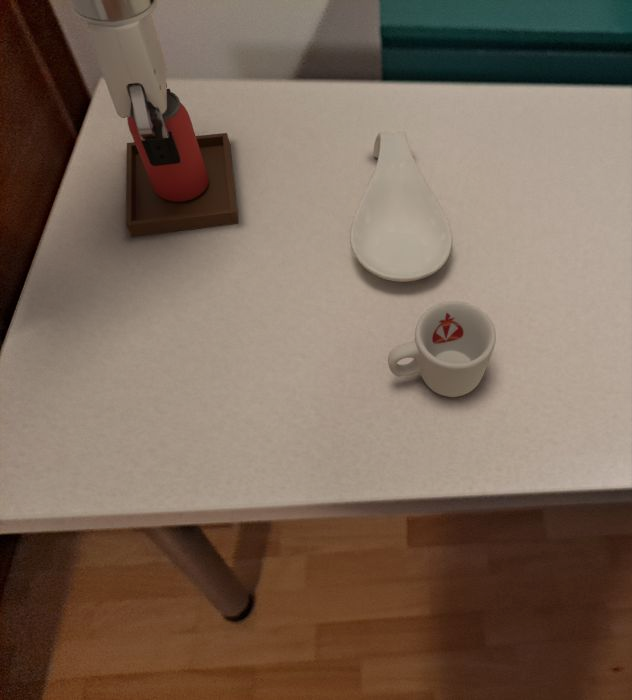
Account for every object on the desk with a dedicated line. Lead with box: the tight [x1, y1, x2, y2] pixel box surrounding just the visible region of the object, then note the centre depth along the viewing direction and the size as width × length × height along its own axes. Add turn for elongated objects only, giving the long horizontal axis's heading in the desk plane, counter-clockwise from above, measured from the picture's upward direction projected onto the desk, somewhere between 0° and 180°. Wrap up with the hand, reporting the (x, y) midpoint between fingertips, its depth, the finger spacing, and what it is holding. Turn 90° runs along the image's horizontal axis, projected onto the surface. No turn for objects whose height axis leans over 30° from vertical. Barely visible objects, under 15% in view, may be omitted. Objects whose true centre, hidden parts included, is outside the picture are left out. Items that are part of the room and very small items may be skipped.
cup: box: [387, 300, 497, 398], centre depth 70 cm, size 11×8×8 cm
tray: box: [125, 132, 239, 238], centre depth 85 cm, size 12×14×2 cm
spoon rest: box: [349, 131, 453, 282], centre depth 82 cm, size 24×12×7 cm, turn 8°
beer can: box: [126, 90, 209, 202], centre depth 80 cm, size 7×7×12 cm
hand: (165, 140), depth 79 cm, fingers closed on beer can, 6 cm apart
